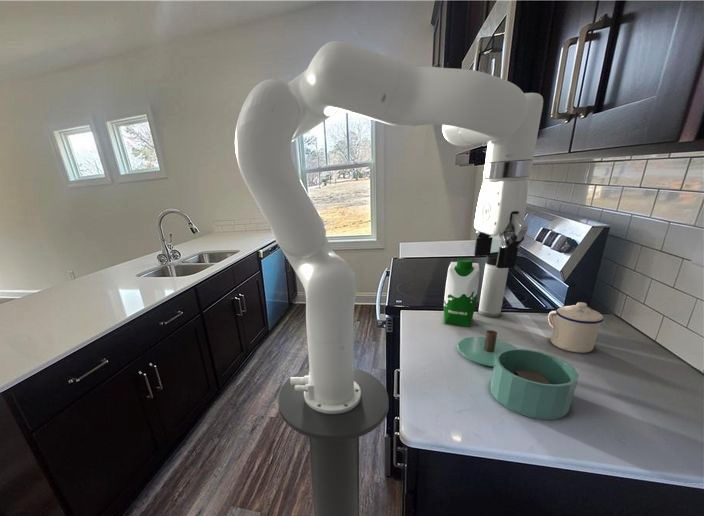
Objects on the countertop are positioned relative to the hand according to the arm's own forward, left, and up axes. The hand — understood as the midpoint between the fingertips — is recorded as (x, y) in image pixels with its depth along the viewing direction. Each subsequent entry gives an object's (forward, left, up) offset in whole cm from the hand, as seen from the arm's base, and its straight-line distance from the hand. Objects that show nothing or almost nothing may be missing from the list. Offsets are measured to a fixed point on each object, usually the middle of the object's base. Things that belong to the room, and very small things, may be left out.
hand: (492, 261), depth 65 cm
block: (+6, -10, -26) cm, 28 cm away
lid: (+6, +7, -26) cm, 27 cm away
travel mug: (+18, +32, -26) cm, 45 cm away
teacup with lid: (+28, +12, -26) cm, 40 cm away
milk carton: (+6, +27, -26) cm, 38 cm away
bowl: (+6, -10, -26) cm, 29 cm away
